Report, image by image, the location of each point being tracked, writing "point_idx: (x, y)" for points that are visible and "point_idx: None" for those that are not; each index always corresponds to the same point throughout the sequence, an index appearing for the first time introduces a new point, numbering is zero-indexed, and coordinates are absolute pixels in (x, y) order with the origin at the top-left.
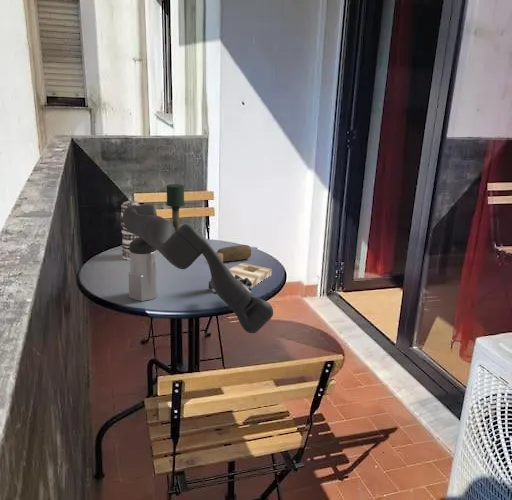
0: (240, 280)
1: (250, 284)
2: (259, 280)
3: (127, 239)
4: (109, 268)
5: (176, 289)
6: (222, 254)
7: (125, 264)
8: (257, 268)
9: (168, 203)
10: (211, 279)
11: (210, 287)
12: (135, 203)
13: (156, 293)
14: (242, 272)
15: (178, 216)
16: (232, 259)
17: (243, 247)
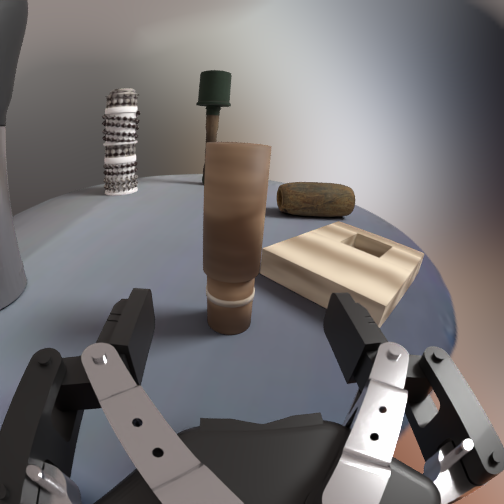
0: (400, 405)
1: (496, 474)
2: (401, 293)
3: (107, 155)
4: (60, 206)
5: (87, 287)
6: (266, 146)
7: (92, 201)
8: (385, 245)
9: (199, 100)
10: (112, 313)
11: (56, 407)
12: (127, 89)
13: (2, 296)
14: (344, 253)
15: (216, 125)
16: (311, 212)
17: (339, 188)
